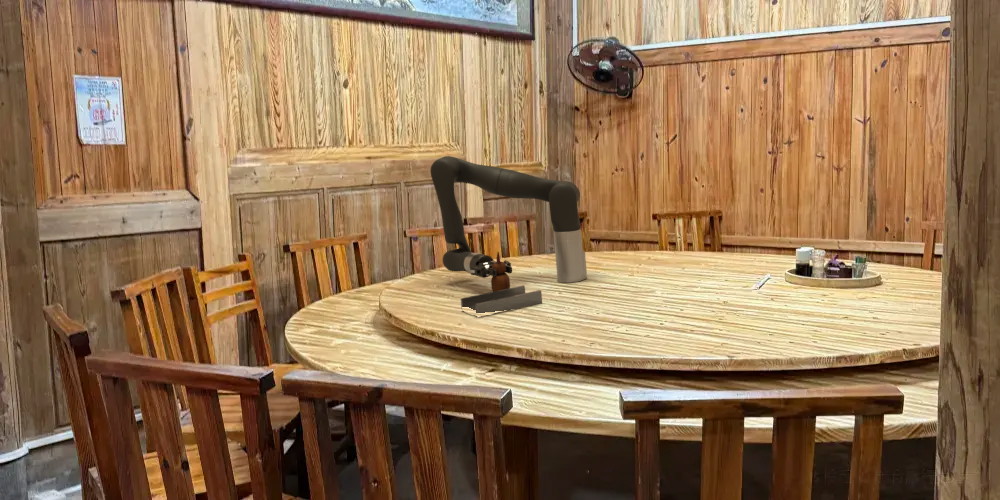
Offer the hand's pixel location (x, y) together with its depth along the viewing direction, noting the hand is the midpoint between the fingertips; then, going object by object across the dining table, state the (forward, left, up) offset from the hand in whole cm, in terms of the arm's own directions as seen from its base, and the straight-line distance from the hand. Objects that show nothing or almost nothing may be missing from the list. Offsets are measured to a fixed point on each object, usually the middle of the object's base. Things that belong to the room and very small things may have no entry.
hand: (503, 271), depth 266 cm
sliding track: (+7, +10, -8) cm, 15 cm away
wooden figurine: (0, -3, -9) cm, 9 cm away
